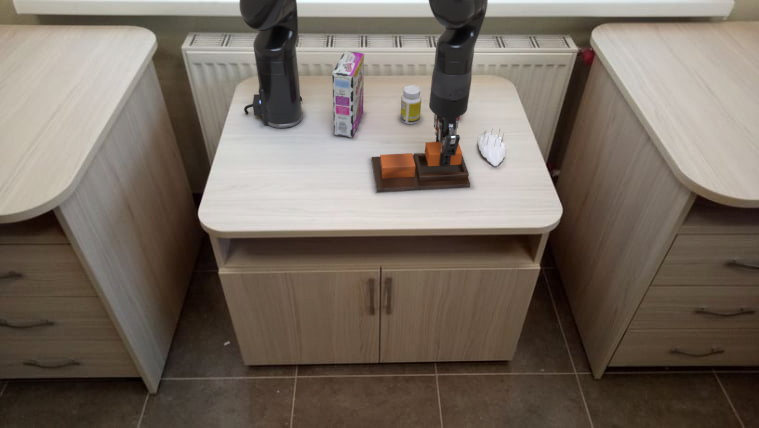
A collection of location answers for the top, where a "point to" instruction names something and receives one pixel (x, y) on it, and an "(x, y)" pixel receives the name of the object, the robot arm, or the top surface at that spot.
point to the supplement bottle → (410, 104)
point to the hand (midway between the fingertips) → (442, 157)
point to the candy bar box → (348, 93)
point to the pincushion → (492, 147)
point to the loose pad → (434, 154)
